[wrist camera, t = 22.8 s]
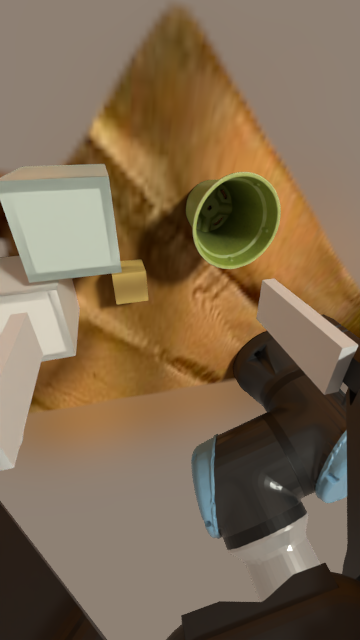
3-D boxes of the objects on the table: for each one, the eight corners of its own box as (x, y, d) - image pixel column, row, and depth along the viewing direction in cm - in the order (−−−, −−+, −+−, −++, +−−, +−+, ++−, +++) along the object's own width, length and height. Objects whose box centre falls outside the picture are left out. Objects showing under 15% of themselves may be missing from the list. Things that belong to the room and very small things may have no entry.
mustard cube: (143, 286, 38) (148, 300, 35) (114, 289, 38) (116, 304, 34) (141, 258, 36) (145, 271, 33) (110, 262, 35) (111, 275, 32)
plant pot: (217, 143, 31) (253, 147, 24) (256, 208, 36) (294, 226, 29) (156, 203, 33) (173, 223, 26) (202, 257, 38) (226, 285, 31)
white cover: (79, 307, 38) (75, 355, 30) (15, 316, 36) (-7, 369, 28) (65, 251, 33) (56, 289, 25) (-9, 258, 31) (-44, 301, 23)
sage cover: (104, 163, 29) (108, 176, 21) (115, 238, 34) (121, 272, 26) (22, 166, 28) (-7, 181, 20) (45, 244, 32) (29, 282, 24)
